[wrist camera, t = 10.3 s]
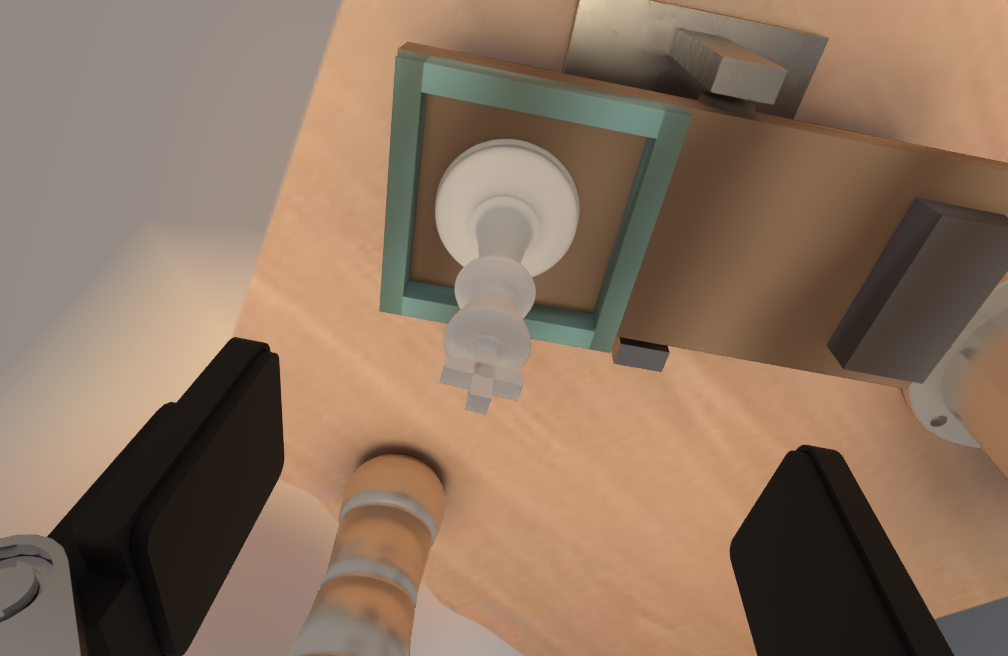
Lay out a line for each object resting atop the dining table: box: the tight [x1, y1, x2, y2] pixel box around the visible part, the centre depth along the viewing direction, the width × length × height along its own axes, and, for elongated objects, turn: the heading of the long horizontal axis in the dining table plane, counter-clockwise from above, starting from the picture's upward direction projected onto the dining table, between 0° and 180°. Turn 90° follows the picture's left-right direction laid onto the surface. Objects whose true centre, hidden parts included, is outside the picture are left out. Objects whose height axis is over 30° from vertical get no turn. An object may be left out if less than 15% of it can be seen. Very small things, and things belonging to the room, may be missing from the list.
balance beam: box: [379, 42, 1008, 389], centre depth 20 cm, size 21×9×4 cm, turn 80°
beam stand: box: [563, 0, 829, 372], centre depth 24 cm, size 10×13×8 cm
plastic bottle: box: [287, 454, 444, 656], centre depth 32 cm, size 6×7×20 cm
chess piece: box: [435, 139, 580, 414], centre depth 16 cm, size 5×5×10 cm
